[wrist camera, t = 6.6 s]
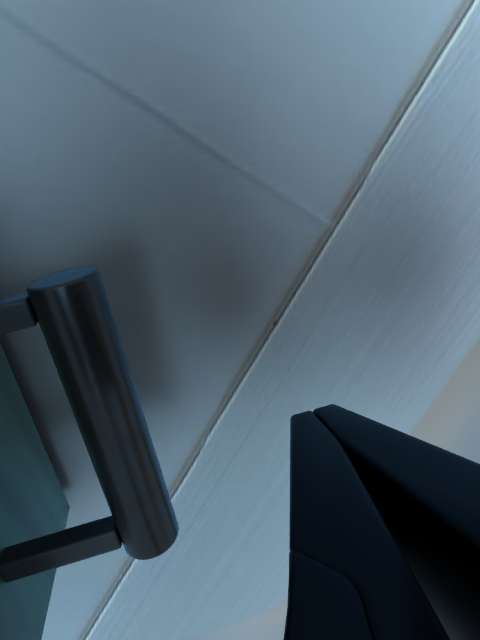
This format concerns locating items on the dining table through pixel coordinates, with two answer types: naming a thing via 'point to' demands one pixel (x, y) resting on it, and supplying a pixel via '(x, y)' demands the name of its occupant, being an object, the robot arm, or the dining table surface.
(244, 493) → the dining table surface
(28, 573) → the drawer
